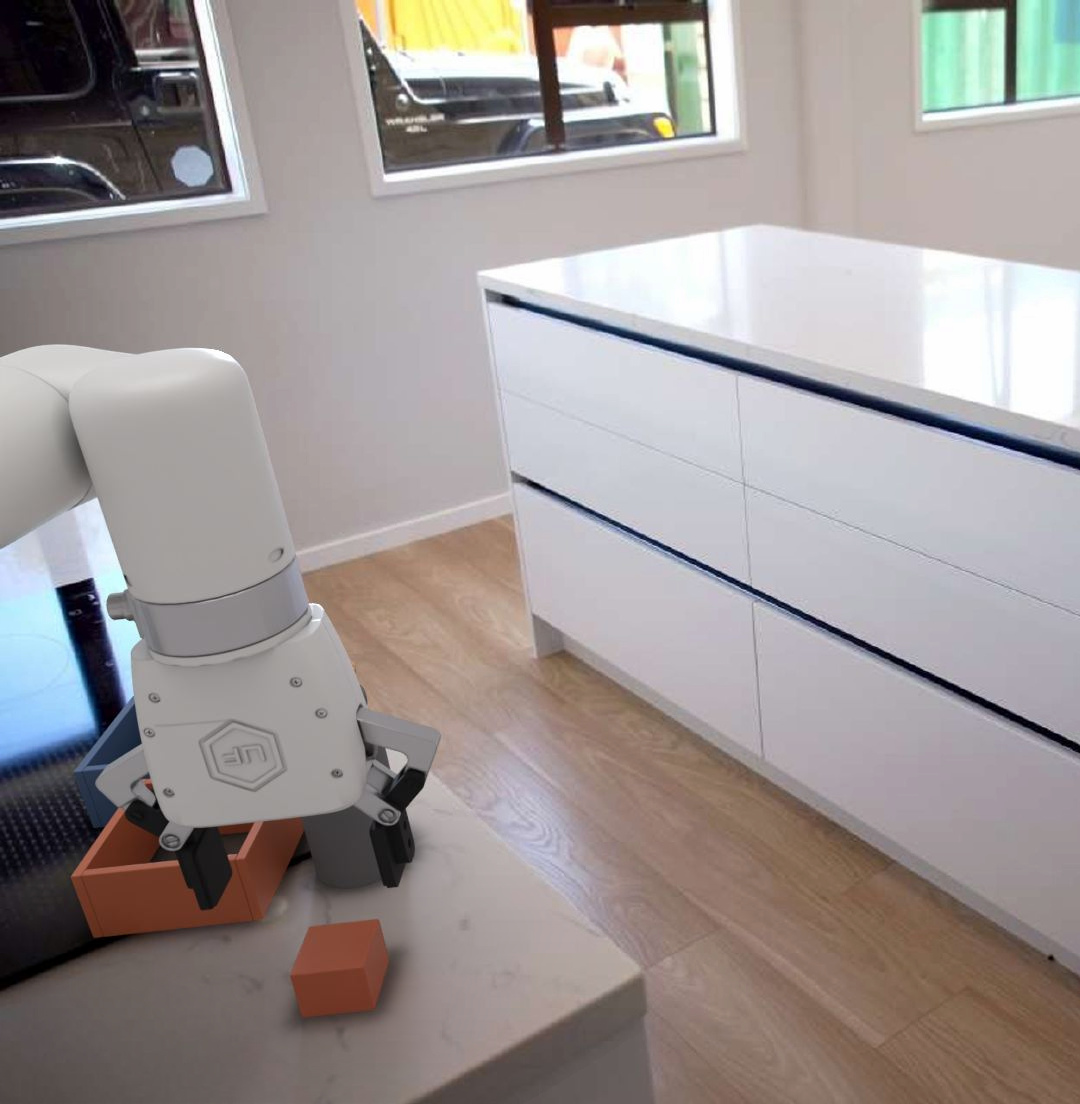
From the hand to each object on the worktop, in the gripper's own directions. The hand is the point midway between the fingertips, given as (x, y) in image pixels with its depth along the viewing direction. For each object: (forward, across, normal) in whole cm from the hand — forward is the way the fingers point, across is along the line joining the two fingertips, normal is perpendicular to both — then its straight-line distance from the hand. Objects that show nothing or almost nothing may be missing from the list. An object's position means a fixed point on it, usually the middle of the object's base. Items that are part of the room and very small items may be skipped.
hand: (308, 882), depth 69 cm
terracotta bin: (+8, -12, +12) cm, 19 cm away
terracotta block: (+9, 0, 0) cm, 9 cm away
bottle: (+9, -2, +12) cm, 15 cm away
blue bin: (+8, -16, +24) cm, 30 cm away
